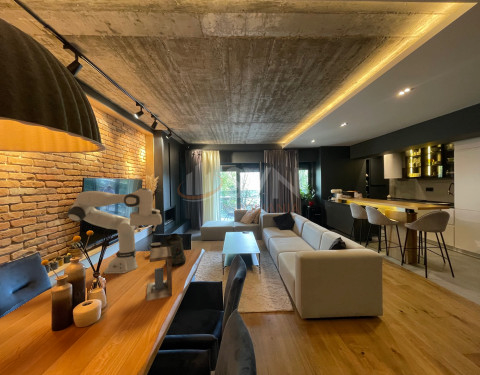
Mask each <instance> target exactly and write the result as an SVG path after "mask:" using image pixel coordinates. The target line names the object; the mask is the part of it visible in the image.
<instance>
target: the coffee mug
mask: <svg viewBox="0 0 480 375" xmlns="http://www.w3.org/2000/svg"><path fill="white" fill-rule="evenodd" d="M161 246H162V243H161V242H153V243H151V244H149V245H148V247H147V249H148V250H149V251H150V250H151V248H160V247H161ZM149 247H150V248H149Z"/></svg>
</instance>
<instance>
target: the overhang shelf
mask: <svg viewBox="0 0 480 375" xmlns="http://www.w3.org/2000/svg"><path fill="white" fill-rule="evenodd" d="M149 251H150V253H149V263H154V262H162V261H165V260H167V265H166V279H165V280H164V279H163V282H164V289H160V290H155V281H154V282H148V283H147V286H146V287H147V288H146V289H147V290H146V299H145V301H146V302H148V301H152V300H159V299H163V298H167V297H172V296H173V272H172V271H173V269H172V268H173V267H172V255H171V250H170V246H169V247H168V246H165V247H160V248H152V247H150V250H149Z"/></svg>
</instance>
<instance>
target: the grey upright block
mask: <svg viewBox="0 0 480 375" xmlns="http://www.w3.org/2000/svg"><path fill="white" fill-rule="evenodd" d="M163 281H164V267H157V268H154V282H155V290H160V289H164V282H163Z"/></svg>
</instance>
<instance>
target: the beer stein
mask: <svg viewBox="0 0 480 375" xmlns="http://www.w3.org/2000/svg"><path fill="white" fill-rule="evenodd" d="M166 245H167V247H169V246H170V250H171V255H172V268H173V267H175V268H176V267H180V266H184V265H185V264H186V260H187V257H186V255H185V252H184V246H183V237H182V236H181V235H179V234H178V233H177V232H176V233H175V232H174V233H171V234H170V236H168V237H165V239H164V241H163V242H162V243H161V247H166ZM164 261H165V265H166V266H167V260H164Z"/></svg>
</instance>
